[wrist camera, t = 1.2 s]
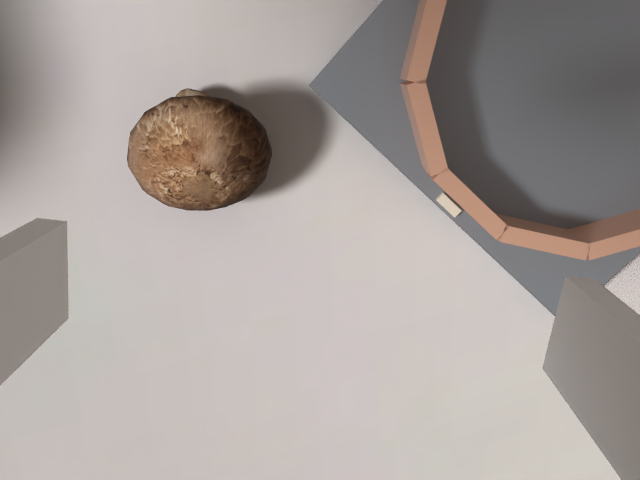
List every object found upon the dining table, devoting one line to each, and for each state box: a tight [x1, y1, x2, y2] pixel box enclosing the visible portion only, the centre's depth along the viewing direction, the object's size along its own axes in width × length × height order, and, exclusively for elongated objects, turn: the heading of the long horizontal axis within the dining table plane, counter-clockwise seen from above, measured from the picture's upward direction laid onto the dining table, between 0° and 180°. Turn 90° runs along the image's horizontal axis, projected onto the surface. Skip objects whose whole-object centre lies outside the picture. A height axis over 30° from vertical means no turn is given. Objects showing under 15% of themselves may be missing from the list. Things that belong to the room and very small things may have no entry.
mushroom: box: [127, 88, 272, 210], centre depth 34 cm, size 8×8×6 cm
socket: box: [309, 0, 640, 316], centre depth 32 cm, size 22×22×4 cm
